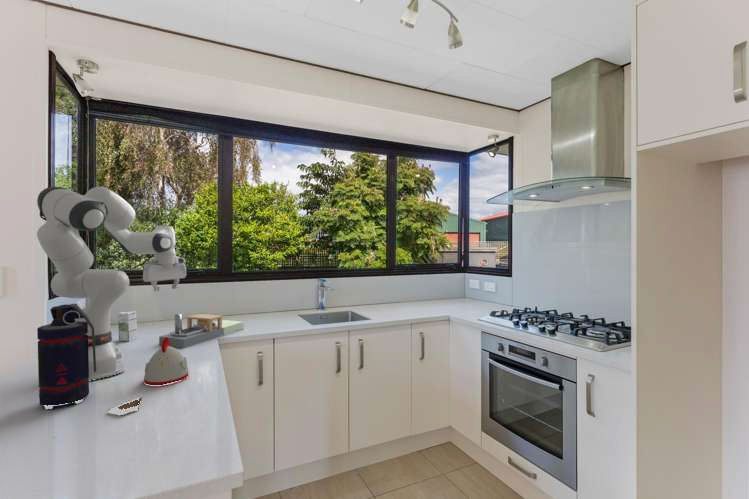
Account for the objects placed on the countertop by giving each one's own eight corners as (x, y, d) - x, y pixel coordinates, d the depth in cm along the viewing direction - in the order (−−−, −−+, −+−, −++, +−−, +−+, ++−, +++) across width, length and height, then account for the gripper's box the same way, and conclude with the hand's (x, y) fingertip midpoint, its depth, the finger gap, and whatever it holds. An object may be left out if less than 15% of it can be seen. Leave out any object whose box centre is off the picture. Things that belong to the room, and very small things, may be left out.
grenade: (36, 414, 106) (33, 310, 105) (42, 400, 115) (39, 305, 115) (96, 402, 114) (94, 305, 113) (97, 389, 123) (95, 300, 123)
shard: (142, 399, 117) (142, 394, 117) (159, 403, 114) (159, 397, 114) (106, 414, 106) (106, 408, 106) (124, 419, 104) (124, 412, 104)
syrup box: (137, 338, 189) (137, 310, 189) (128, 341, 183) (128, 312, 183) (127, 338, 190) (126, 310, 189) (118, 341, 184) (117, 312, 184)
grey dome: (138, 388, 124) (137, 344, 124) (151, 374, 138) (150, 334, 137) (183, 384, 128) (182, 341, 128) (192, 370, 141) (191, 332, 141)
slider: (183, 336, 175) (183, 315, 175) (168, 335, 179) (167, 314, 179) (219, 326, 196) (219, 307, 196) (205, 325, 200) (204, 306, 200)
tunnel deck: (183, 347, 172) (183, 325, 172) (159, 344, 178) (159, 322, 178) (243, 328, 209) (243, 310, 209) (221, 326, 215) (221, 308, 215)
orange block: (204, 330, 190) (204, 321, 190) (197, 329, 192) (197, 320, 192) (212, 327, 195) (212, 319, 195) (204, 327, 197) (204, 318, 197)
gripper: (148, 261, 161) (149, 292, 162) (188, 259, 180) (188, 287, 181) (139, 261, 164) (139, 292, 164) (178, 259, 183) (179, 287, 183)
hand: (165, 289), depth 172 cm, fingers open, 8 cm apart
